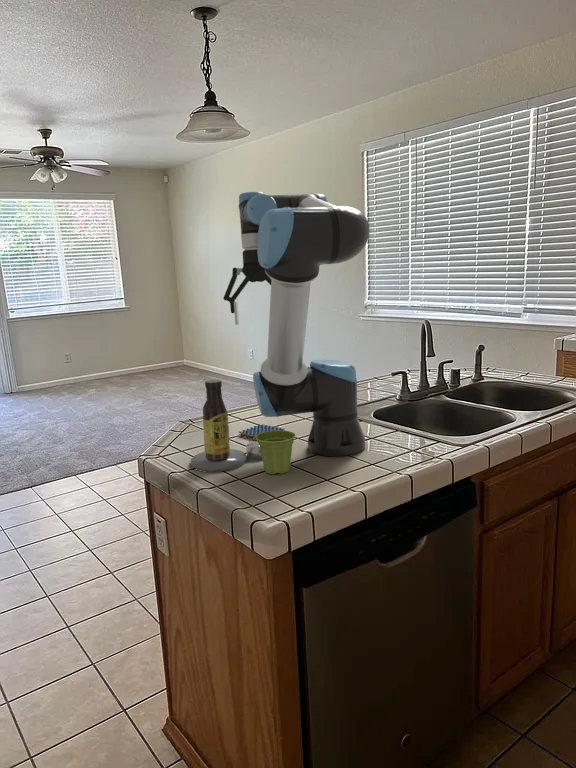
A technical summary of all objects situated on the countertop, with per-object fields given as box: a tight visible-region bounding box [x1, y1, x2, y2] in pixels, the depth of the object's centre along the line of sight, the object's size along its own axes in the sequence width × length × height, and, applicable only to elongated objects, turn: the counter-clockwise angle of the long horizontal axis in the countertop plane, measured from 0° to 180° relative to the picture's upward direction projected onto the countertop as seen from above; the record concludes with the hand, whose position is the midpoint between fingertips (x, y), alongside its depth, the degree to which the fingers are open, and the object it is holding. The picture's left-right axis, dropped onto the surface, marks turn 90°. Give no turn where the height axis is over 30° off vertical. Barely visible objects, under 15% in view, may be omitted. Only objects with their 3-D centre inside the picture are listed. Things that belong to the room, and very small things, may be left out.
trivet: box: [190, 448, 247, 473], centre depth 143 cm, size 14×14×1 cm
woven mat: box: [238, 423, 286, 441], centre depth 164 cm, size 10×11×2 cm
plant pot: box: [255, 429, 296, 475], centre depth 135 cm, size 9×9×9 cm
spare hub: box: [245, 440, 263, 460], centre depth 147 cm, size 6×6×3 cm
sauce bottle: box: [202, 379, 231, 461], centre depth 141 cm, size 7×6×20 cm
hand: (260, 323), depth 166 cm, fingers open, 13 cm apart
